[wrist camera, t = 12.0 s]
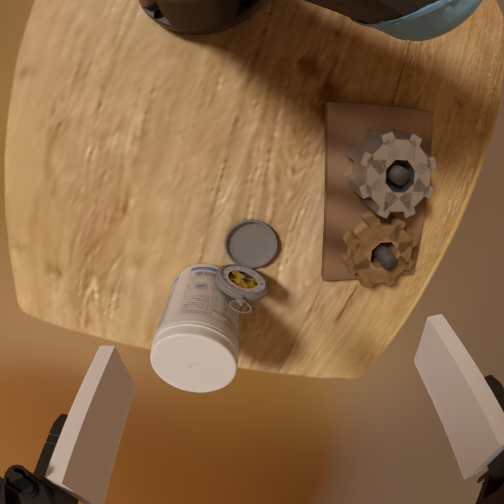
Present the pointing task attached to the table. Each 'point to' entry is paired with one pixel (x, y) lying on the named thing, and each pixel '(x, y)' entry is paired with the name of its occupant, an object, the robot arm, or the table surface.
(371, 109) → the gear board
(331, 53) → the table surface
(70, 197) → the table surface
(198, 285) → the supplement tub
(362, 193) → the steel gear
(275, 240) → the pocket watch
